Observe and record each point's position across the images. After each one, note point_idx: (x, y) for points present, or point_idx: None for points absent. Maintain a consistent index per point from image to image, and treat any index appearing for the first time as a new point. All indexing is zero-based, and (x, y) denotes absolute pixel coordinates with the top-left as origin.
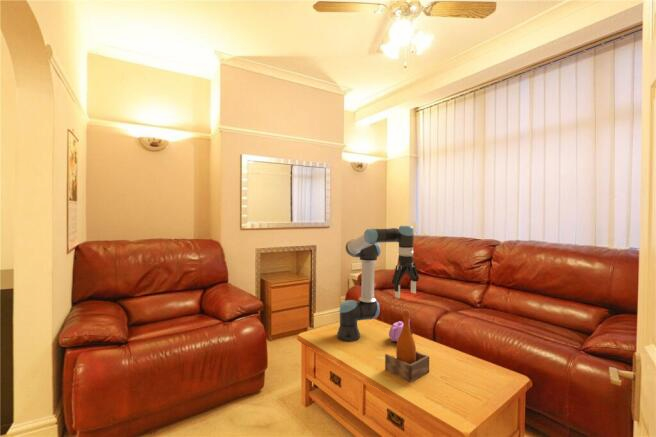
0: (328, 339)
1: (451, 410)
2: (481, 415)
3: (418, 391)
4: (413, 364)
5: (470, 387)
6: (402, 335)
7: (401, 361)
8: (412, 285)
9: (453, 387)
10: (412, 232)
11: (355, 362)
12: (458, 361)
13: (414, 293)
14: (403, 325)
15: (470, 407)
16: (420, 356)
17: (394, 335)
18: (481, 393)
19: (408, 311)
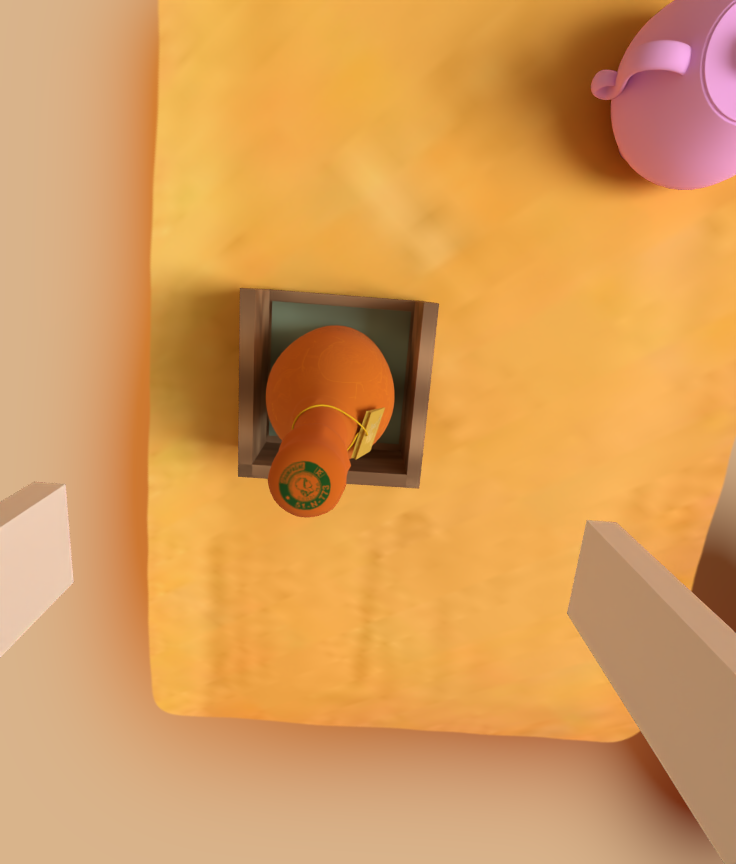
0: None
1: (213, 642)
2: (267, 713)
3: (224, 506)
4: (265, 477)
5: (415, 629)
6: (280, 411)
7: (243, 412)
8: (670, 673)
9: (364, 587)
10: None
11: (191, 94)
12: (617, 507)
13: (569, 603)
14: (297, 421)
15: (283, 676)
16: (408, 435)
17: (628, 89)
18: (403, 670)
19: (322, 507)
